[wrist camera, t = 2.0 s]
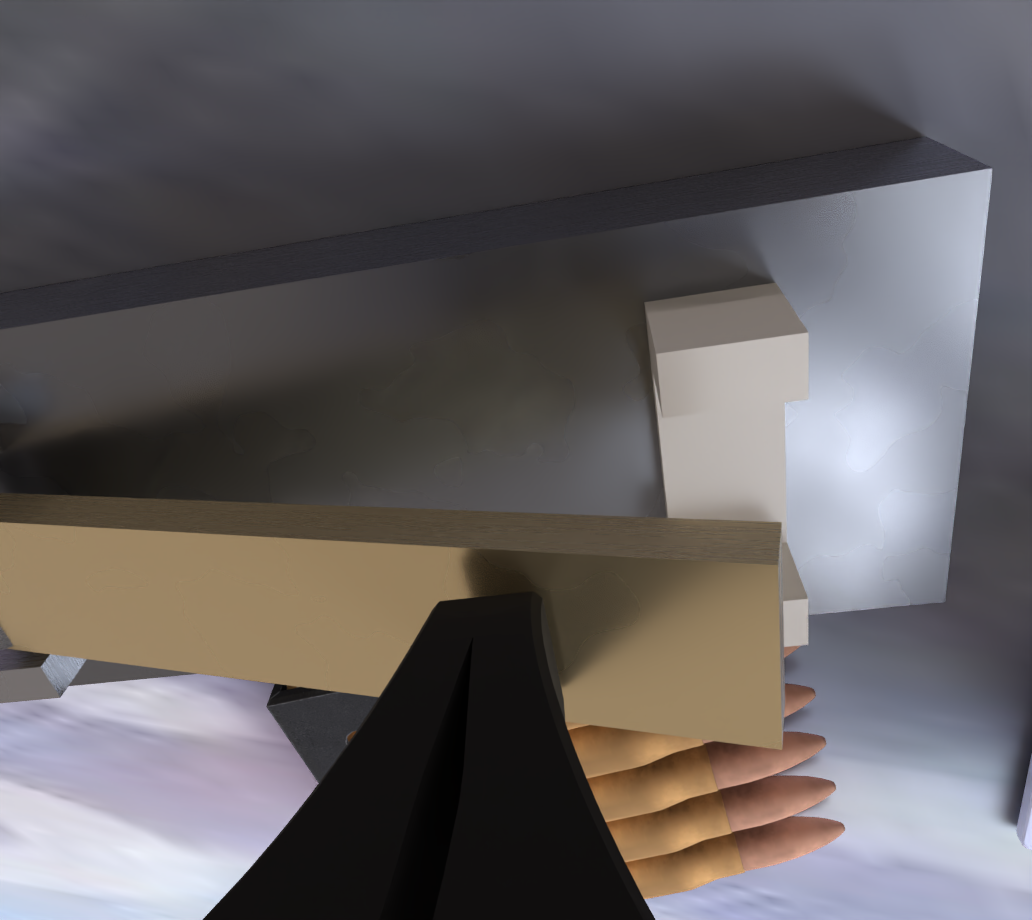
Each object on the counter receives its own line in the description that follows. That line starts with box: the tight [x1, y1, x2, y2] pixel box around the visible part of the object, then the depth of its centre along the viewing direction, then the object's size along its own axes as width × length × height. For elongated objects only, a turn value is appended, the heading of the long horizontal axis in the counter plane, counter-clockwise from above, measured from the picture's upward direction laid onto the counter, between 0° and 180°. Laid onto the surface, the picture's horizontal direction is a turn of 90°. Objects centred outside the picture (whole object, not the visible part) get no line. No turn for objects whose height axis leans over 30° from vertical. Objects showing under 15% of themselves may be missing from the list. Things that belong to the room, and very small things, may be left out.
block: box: [0, 137, 993, 703], centre depth 15 cm, size 19×8×4 cm, turn 100°
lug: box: [644, 283, 809, 647], centre depth 13 cm, size 2×6×2 cm, turn 10°
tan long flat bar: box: [0, 493, 785, 750], centre depth 13 cm, size 15×3×1 cm, turn 100°
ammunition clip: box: [267, 646, 845, 899], centre depth 21 cm, size 11×2×12 cm
